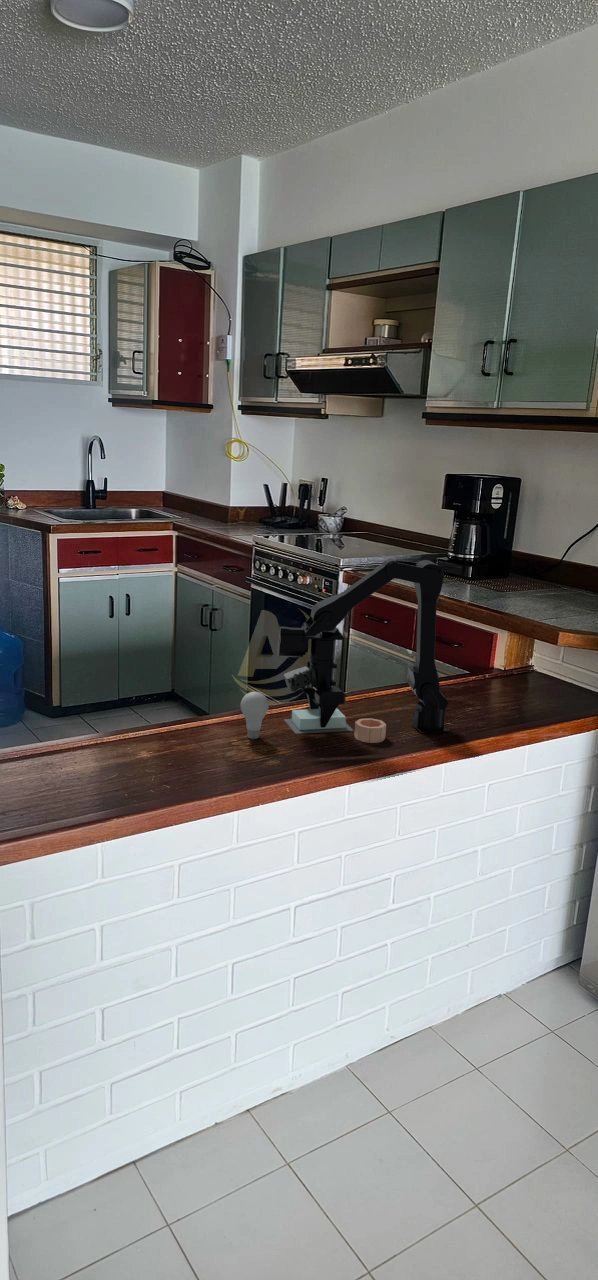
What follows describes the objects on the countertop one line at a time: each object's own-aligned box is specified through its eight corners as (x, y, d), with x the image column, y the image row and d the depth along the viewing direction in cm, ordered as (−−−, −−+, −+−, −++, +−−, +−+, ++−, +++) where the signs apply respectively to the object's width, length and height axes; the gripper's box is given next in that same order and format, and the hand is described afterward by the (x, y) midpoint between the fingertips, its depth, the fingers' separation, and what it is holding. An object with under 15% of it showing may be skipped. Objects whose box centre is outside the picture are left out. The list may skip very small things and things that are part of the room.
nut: (377, 734, 200) (379, 717, 199) (388, 744, 194) (389, 727, 193) (350, 735, 198) (351, 719, 197) (360, 745, 192) (362, 728, 191)
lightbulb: (263, 746, 189) (265, 697, 186) (236, 742, 190) (237, 694, 187) (269, 736, 195) (271, 689, 192) (243, 733, 196) (245, 687, 193)
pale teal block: (335, 718, 207) (336, 708, 207) (345, 727, 201) (345, 716, 200) (291, 720, 204) (292, 710, 203) (299, 729, 198) (300, 719, 197)
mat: (339, 718, 209) (339, 716, 209) (353, 733, 200) (353, 730, 200) (283, 721, 205) (283, 719, 205) (295, 736, 196) (295, 733, 196)
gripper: (277, 648, 205) (274, 711, 209) (300, 669, 188) (296, 737, 191) (322, 647, 208) (318, 709, 212) (348, 668, 191) (344, 735, 195)
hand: (318, 722), depth 202 cm, fingers closed on pale teal block, 7 cm apart
